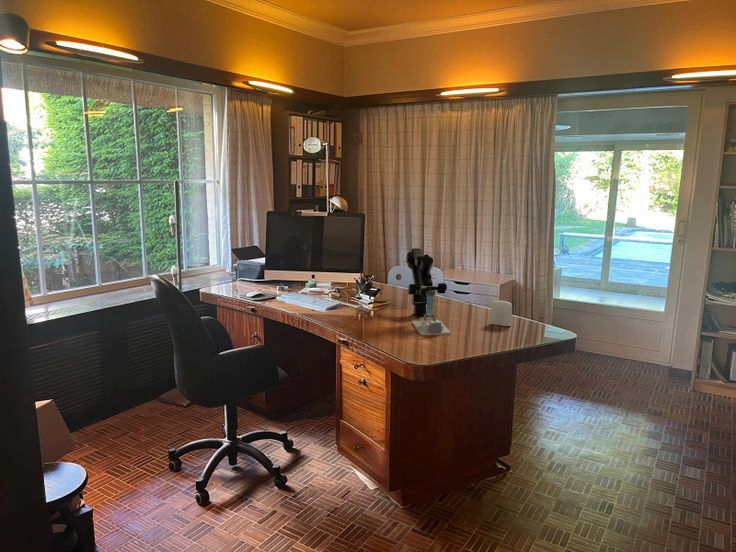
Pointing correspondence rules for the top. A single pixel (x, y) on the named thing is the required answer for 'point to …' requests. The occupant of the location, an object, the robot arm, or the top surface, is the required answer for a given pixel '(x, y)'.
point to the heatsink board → (431, 327)
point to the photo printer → (501, 313)
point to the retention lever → (430, 302)
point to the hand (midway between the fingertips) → (429, 303)
